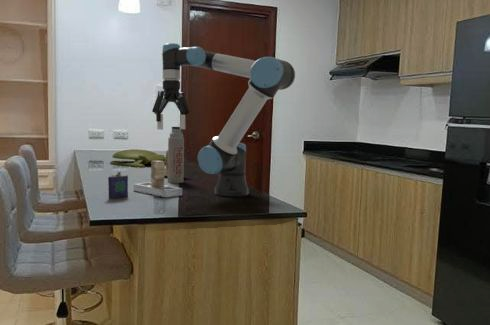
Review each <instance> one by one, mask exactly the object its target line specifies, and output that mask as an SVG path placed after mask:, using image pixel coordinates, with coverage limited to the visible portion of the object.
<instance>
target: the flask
mask: <svg viewBox="0 0 490 325" xmlns="http://www.w3.org/2000/svg"><path fill="white" fill-rule="evenodd" d="M121 173H122V172H121V171H117V173H116V174H114V175H113V174H112V175H109V176H108V178H107V179H108V181H107V182H108V184H107V185H108V200H116V199H121V198H122V199H123V198H127V196H128V195H129V190H128V189H129V188H128V187H129V175H128V174H121ZM128 197H129V196H128Z"/></svg>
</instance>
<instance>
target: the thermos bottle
mask: <svg viewBox="0 0 490 325" xmlns="http://www.w3.org/2000/svg"><path fill="white" fill-rule="evenodd" d="M167 140H168V142H167V144H168V145H167V146H168V147H167V150H168V177H167V182H168V183H173V184H178V183H180V184H181V183H182V184H183V183H184V175H185V173H184V172H185V171H184V168H185V165H184V163H185V160H184V158H185V138H184V133H183V132H182V129H180V126H171V132H170V133H169V137H168V139H167Z"/></svg>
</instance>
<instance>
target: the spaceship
mask: <svg viewBox="0 0 490 325" xmlns="http://www.w3.org/2000/svg"><path fill="white" fill-rule="evenodd" d="M112 158H113V159H118V160H131V161H132V160H133V162H129V161H128V162H127V161H118V160H112V161H110V162H109V163H110V165H113V164H114V165H113V166H121V165H122V166H123V167H129V166H130V167H131V168H137V167H140V168H139V169H142V168H141V167H144V168H146V167H145V165H146V164H151V161H158V160H159V161H164V165H165V164H166V159H165V158H166V155H164V154H158V153H156V152H153V151H151V150H146V149H133V148H132V149H124V150H120V151H117V152H115V153H113V155H112ZM122 166H121V167H122Z"/></svg>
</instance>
